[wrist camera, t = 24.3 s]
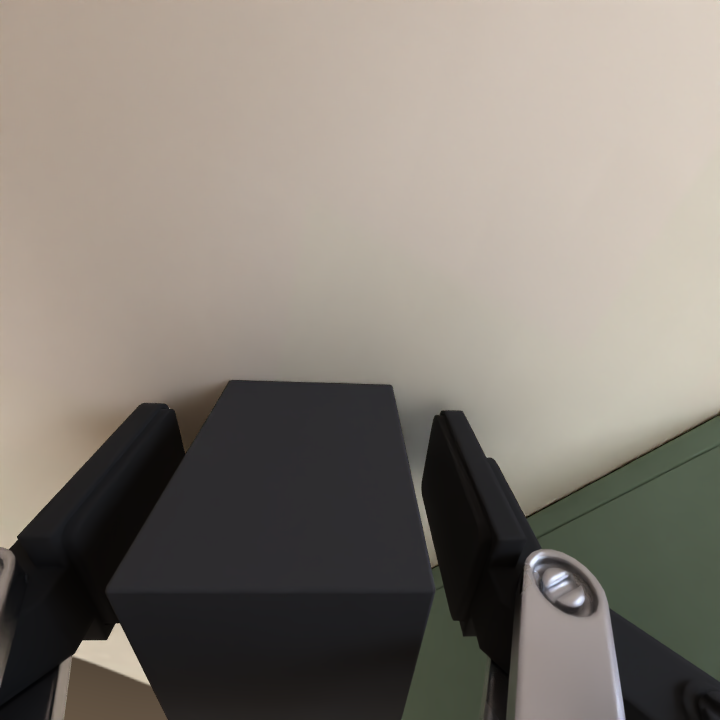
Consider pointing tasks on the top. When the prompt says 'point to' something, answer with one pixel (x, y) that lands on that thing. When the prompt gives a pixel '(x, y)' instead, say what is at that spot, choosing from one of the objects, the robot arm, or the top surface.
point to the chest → (610, 568)
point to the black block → (283, 561)
